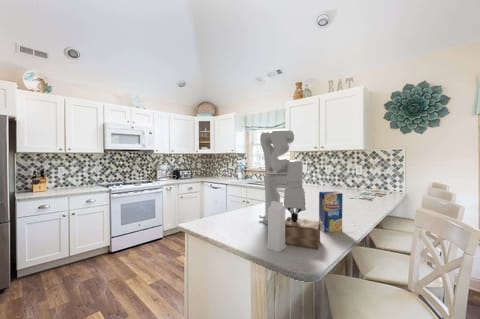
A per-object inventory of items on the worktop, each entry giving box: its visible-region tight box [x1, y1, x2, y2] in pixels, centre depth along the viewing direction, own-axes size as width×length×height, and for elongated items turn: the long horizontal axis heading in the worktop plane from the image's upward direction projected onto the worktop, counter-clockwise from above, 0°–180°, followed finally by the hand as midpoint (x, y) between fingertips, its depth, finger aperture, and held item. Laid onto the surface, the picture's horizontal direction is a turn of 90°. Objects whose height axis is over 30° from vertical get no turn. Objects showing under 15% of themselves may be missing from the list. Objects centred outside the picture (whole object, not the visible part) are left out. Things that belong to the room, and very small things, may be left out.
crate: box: [285, 224, 321, 251], centre depth 113 cm, size 16×12×9 cm
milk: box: [267, 201, 286, 253], centre depth 106 cm, size 6×6×22 cm
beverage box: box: [318, 191, 343, 233], centre depth 134 cm, size 7×11×22 cm, turn 99°
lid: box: [285, 216, 320, 231], centre depth 113 cm, size 16×12×2 cm
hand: (294, 221), depth 115 cm, fingers closed
